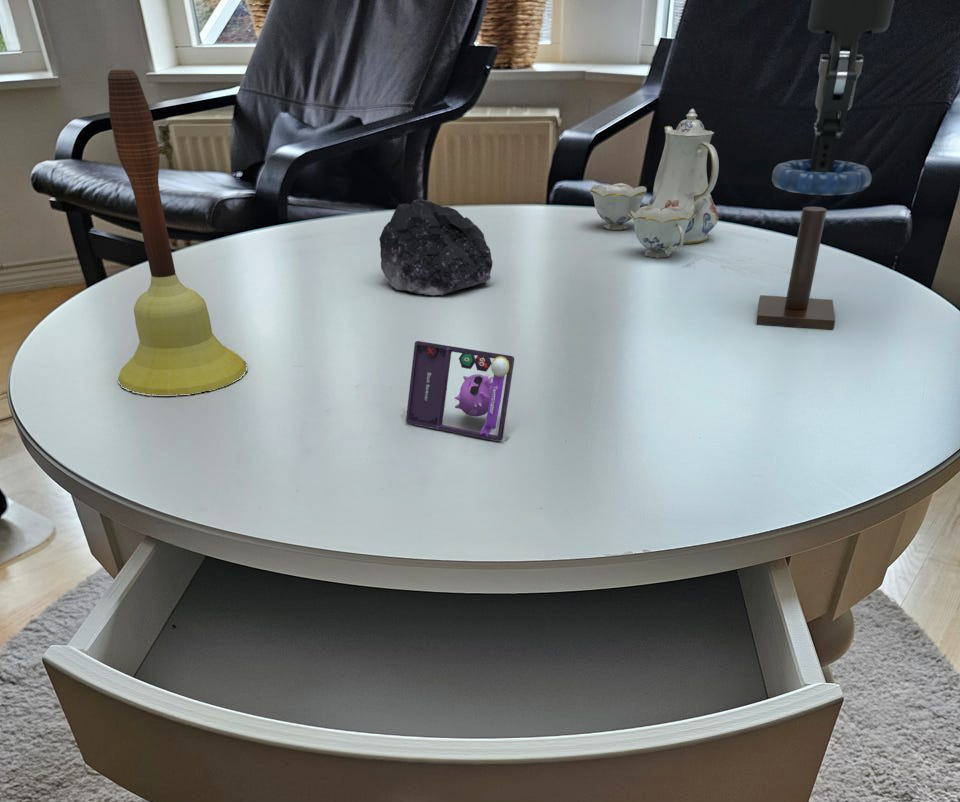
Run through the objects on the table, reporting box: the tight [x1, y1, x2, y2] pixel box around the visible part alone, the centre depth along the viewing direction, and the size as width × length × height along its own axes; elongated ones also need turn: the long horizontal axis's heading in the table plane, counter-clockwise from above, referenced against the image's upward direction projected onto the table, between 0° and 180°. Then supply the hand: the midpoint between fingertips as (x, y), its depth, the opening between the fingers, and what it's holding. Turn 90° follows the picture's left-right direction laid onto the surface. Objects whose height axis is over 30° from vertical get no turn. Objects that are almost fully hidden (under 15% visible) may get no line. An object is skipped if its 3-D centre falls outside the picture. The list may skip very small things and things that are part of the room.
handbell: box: [107, 69, 247, 395], centre depth 81 cm, size 12×12×25 cm
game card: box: [405, 340, 515, 442], centre depth 76 cm, size 7×5×9 cm
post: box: [755, 206, 836, 331], centre depth 97 cm, size 8×8×11 cm
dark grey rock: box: [379, 199, 494, 296], centre depth 111 cm, size 13×14×10 cm
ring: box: [771, 158, 873, 196], centre depth 92 cm, size 10×10×2 cm
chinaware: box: [589, 108, 720, 259], centre depth 127 cm, size 28×17×17 cm, turn 17°
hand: (819, 174), depth 96 cm, fingers closed on ring, 2 cm apart
